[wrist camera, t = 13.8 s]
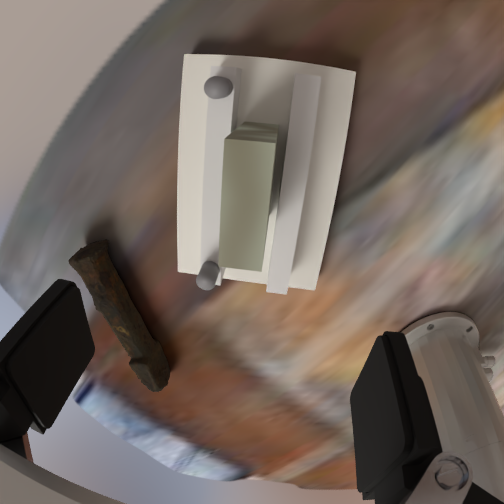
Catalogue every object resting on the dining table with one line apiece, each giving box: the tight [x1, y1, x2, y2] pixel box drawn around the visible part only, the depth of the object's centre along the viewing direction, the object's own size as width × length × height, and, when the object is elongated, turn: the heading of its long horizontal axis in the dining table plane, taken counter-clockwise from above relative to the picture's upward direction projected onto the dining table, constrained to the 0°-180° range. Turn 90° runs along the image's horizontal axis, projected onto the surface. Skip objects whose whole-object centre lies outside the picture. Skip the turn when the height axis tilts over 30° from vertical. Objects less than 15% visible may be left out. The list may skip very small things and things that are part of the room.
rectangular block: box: [218, 122, 279, 272], centre depth 20 cm, size 2×7×8 cm, turn 175°
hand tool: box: [69, 240, 170, 392], centre depth 32 cm, size 19×4×5 cm, turn 14°
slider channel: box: [177, 54, 356, 294], centre depth 22 cm, size 12×18×6 cm, turn 174°
